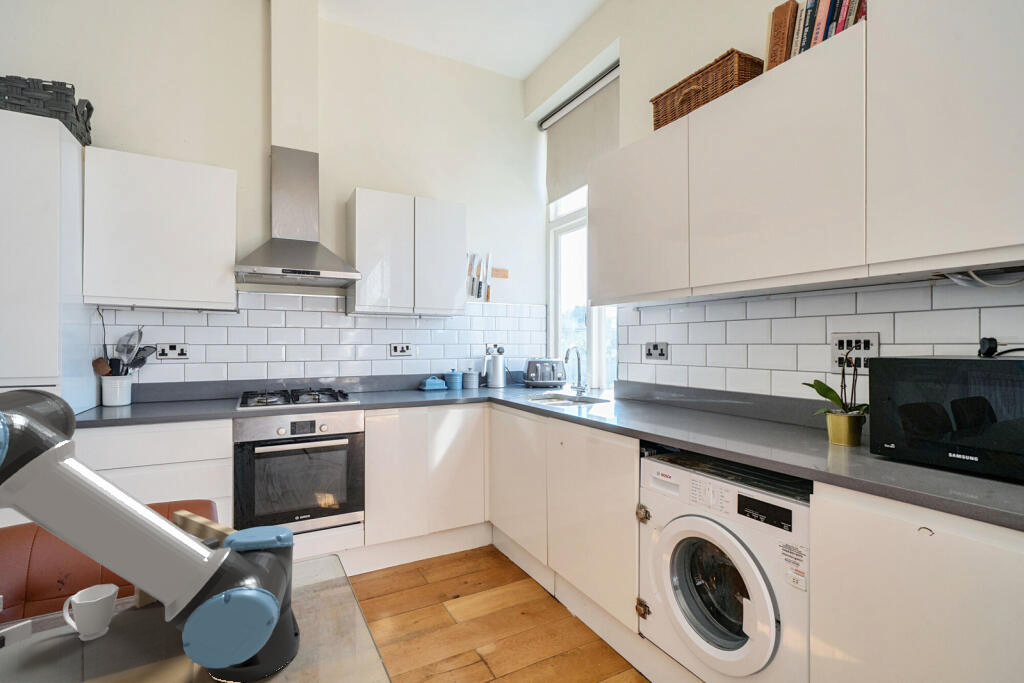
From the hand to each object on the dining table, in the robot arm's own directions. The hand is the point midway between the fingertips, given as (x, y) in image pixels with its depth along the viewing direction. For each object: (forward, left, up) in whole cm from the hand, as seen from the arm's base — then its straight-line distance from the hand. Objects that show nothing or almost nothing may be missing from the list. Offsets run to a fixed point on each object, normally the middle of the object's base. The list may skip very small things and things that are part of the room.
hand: (16, 615), depth 82 cm
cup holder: (-9, -23, -8) cm, 26 cm away
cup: (0, -10, -9) cm, 13 cm away
